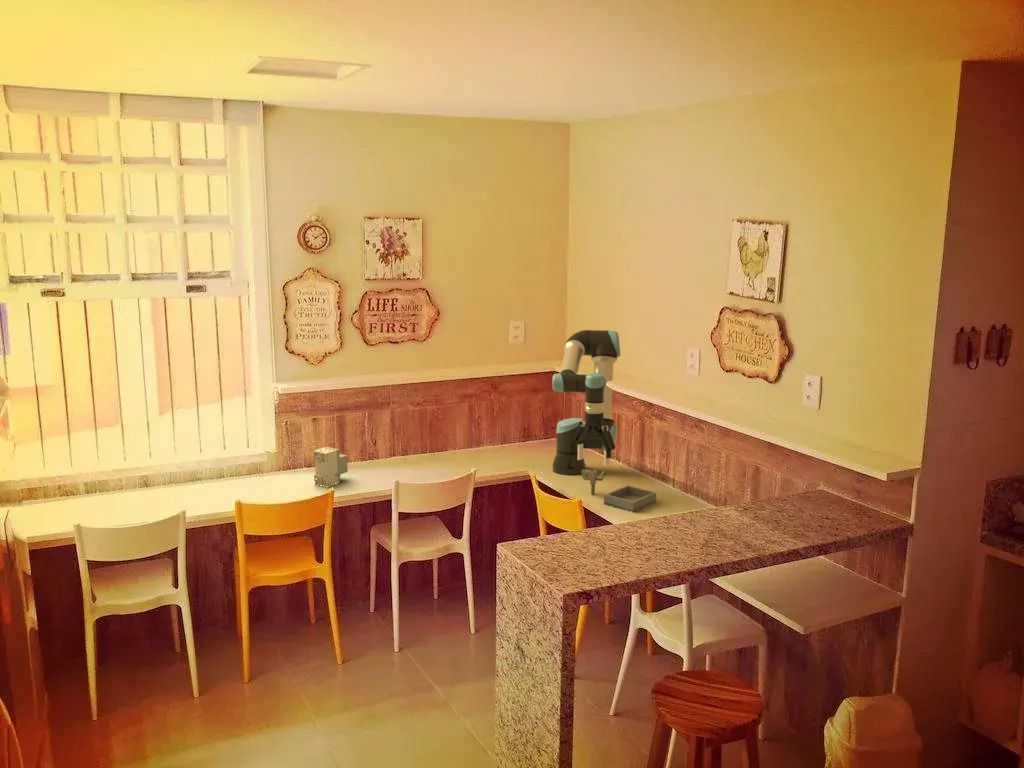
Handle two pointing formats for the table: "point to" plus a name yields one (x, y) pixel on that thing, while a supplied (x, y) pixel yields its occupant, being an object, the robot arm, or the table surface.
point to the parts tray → (630, 498)
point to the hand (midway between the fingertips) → (593, 462)
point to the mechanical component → (592, 477)
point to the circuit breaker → (329, 466)
